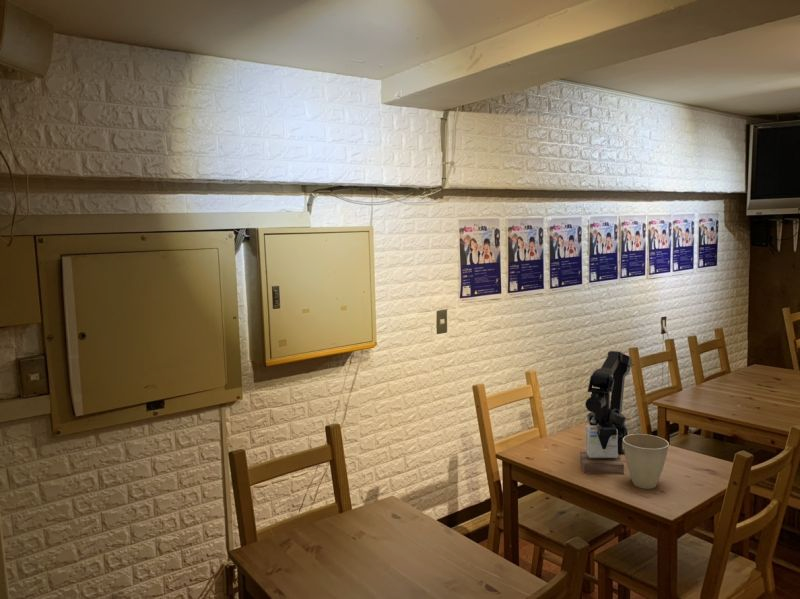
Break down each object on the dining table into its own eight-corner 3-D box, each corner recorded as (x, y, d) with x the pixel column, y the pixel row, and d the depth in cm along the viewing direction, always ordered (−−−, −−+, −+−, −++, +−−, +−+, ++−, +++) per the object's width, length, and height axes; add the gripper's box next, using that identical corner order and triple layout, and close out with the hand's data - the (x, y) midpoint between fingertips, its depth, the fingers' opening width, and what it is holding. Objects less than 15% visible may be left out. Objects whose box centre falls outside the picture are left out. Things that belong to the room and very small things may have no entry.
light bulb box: (613, 451, 231) (613, 424, 230) (618, 458, 225) (618, 430, 224) (585, 451, 232) (585, 424, 231) (589, 458, 226) (589, 430, 224)
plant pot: (638, 496, 204) (639, 450, 202) (614, 478, 218) (614, 436, 217) (677, 490, 207) (678, 446, 205) (650, 473, 221) (651, 432, 220)
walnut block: (579, 461, 236) (580, 451, 236) (617, 462, 234) (617, 452, 233) (584, 474, 224) (584, 463, 224) (623, 475, 222) (623, 464, 222)
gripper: (631, 412, 217) (631, 454, 218) (615, 398, 235) (615, 436, 237) (600, 413, 217) (599, 455, 219) (586, 398, 236) (586, 437, 238)
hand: (601, 445), depth 228 cm, fingers closed on light bulb box, 7 cm apart
